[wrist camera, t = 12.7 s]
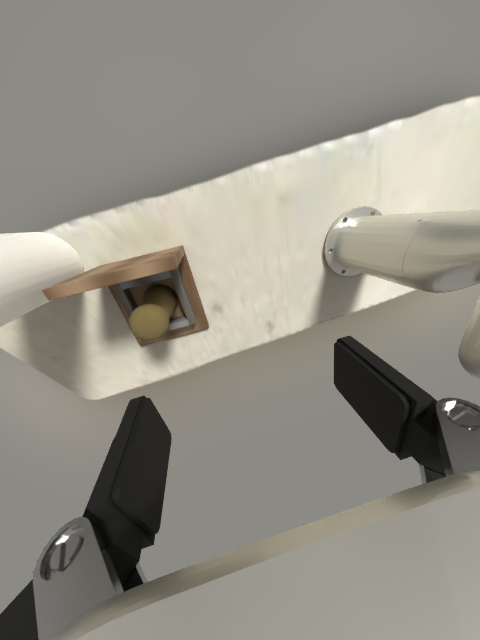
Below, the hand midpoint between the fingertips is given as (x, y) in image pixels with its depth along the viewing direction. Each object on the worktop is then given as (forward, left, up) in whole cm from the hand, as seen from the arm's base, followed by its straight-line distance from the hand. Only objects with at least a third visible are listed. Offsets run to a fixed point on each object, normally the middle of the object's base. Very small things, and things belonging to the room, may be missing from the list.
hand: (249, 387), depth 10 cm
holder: (+11, +3, -30) cm, 32 cm away
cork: (+11, +3, -30) cm, 32 cm away
